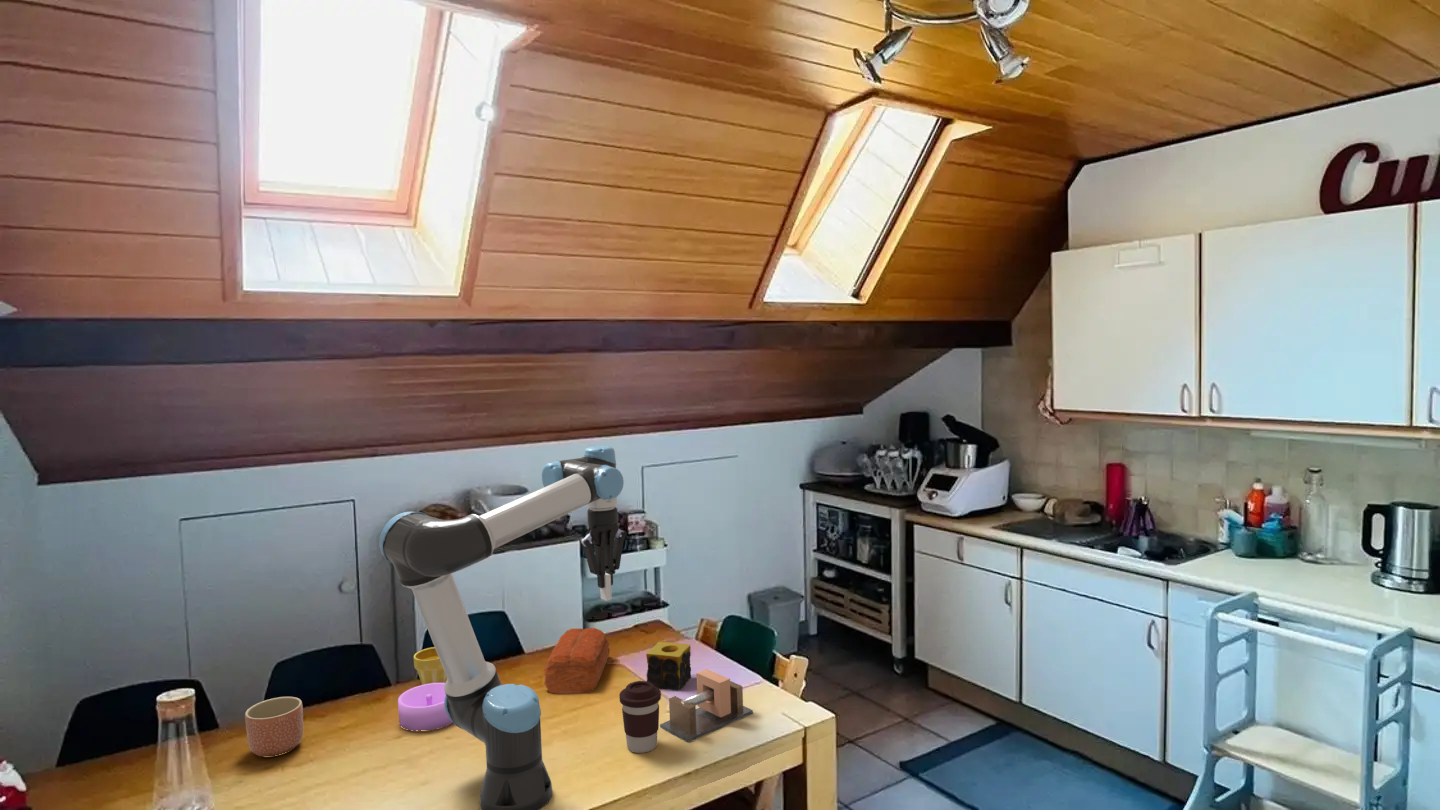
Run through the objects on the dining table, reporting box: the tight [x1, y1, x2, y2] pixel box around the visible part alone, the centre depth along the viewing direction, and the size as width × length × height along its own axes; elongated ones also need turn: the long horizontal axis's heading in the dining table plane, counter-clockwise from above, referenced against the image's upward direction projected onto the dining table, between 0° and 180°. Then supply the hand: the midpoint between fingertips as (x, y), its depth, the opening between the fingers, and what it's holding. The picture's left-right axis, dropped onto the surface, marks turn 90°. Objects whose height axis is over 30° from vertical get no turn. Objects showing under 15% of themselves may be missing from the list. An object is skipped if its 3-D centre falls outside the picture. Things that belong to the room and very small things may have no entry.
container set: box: [397, 660, 487, 731], centre depth 220 cm, size 25×15×13 cm, turn 107°
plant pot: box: [413, 646, 447, 685], centre depth 239 cm, size 10×10×10 cm
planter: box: [244, 696, 304, 757], centre depth 203 cm, size 12×12×11 cm
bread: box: [543, 627, 611, 695], centre depth 244 cm, size 16×27×11 cm, turn 179°
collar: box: [696, 668, 731, 717], centre depth 214 cm, size 4×9×9 cm, turn 42°
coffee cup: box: [618, 680, 662, 754], centre depth 200 cm, size 10×10×15 cm
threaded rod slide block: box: [659, 680, 754, 743], centre depth 213 cm, size 22×11×8 cm, turn 132°
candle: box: [645, 641, 692, 692], centre depth 237 cm, size 10×10×10 cm
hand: (606, 599), depth 211 cm, fingers closed
